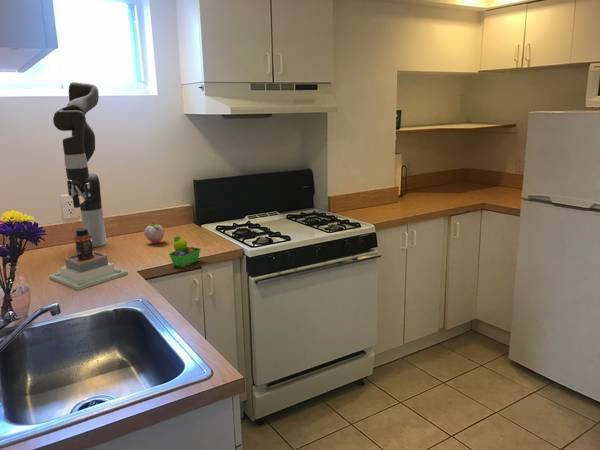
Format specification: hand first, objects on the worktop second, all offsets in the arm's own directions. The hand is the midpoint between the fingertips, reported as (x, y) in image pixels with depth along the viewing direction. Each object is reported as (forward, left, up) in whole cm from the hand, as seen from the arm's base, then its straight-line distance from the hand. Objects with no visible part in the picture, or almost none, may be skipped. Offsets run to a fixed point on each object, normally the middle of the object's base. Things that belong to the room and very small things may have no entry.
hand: (82, 208), depth 185 cm
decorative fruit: (-14, +40, -26) cm, 50 cm away
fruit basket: (+21, +29, -26) cm, 44 cm away
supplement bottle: (+1, -2, -19) cm, 19 cm away
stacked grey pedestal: (+2, -2, -26) cm, 26 cm away
